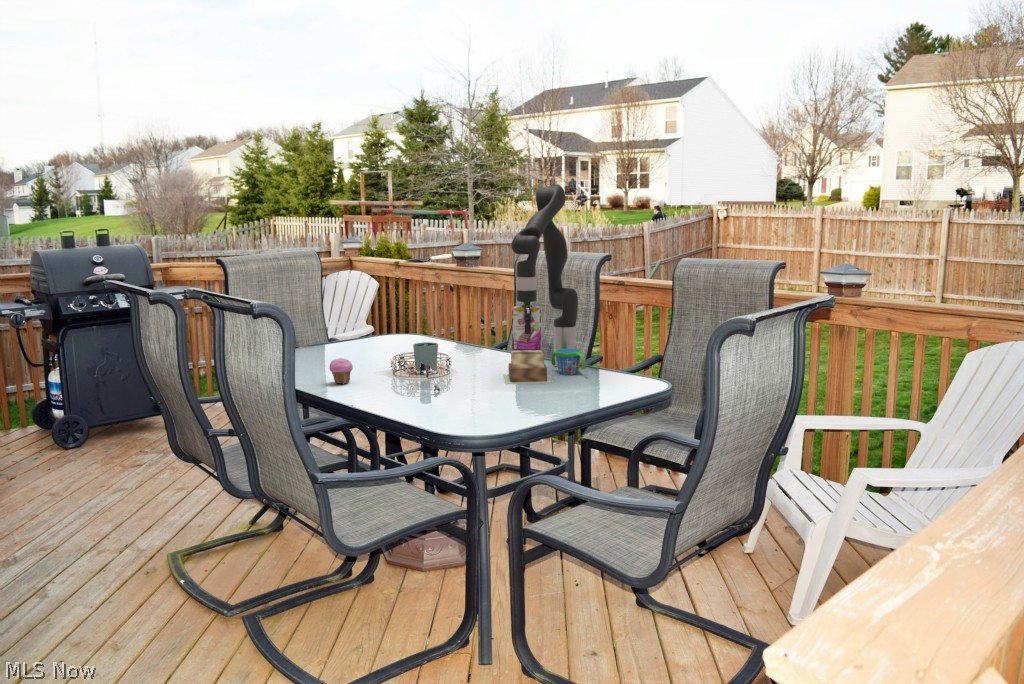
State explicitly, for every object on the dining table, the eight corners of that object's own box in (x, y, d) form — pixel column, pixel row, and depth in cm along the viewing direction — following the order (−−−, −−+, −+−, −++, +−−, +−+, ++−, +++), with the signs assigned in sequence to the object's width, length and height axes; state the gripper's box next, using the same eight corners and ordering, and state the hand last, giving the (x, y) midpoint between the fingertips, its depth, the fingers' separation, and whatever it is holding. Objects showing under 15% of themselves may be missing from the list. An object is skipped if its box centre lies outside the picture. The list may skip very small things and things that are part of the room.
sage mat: (548, 376, 311) (548, 373, 311) (553, 385, 294) (553, 382, 293) (503, 377, 310) (503, 374, 310) (505, 387, 293) (505, 384, 292)
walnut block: (544, 374, 308) (544, 362, 307) (547, 381, 296) (547, 368, 296) (508, 375, 307) (508, 363, 307) (510, 382, 296) (510, 369, 295)
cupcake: (347, 386, 299) (346, 360, 297) (326, 385, 301) (325, 360, 299) (356, 381, 307) (355, 356, 306) (336, 380, 309) (334, 355, 308)
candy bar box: (512, 350, 298) (511, 307, 296) (513, 348, 303) (512, 306, 300) (541, 350, 297) (540, 307, 294) (542, 348, 302) (541, 306, 299)
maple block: (541, 362, 306) (541, 350, 306) (544, 367, 296) (544, 354, 296) (511, 363, 306) (510, 351, 305) (512, 368, 296) (512, 355, 295)
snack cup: (545, 374, 314) (544, 350, 312) (563, 371, 321) (562, 346, 319) (573, 380, 303) (573, 354, 301) (591, 376, 310) (591, 351, 308)
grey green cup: (412, 375, 318) (411, 346, 316) (416, 370, 328) (415, 342, 326) (437, 374, 317) (436, 345, 315) (440, 370, 327) (439, 341, 325)
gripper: (538, 290, 289) (538, 335, 292) (534, 286, 304) (535, 329, 306) (517, 290, 289) (518, 336, 292) (515, 287, 303) (516, 330, 306)
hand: (527, 332), depth 299 cm, fingers closed on candy bar box, 5 cm apart
